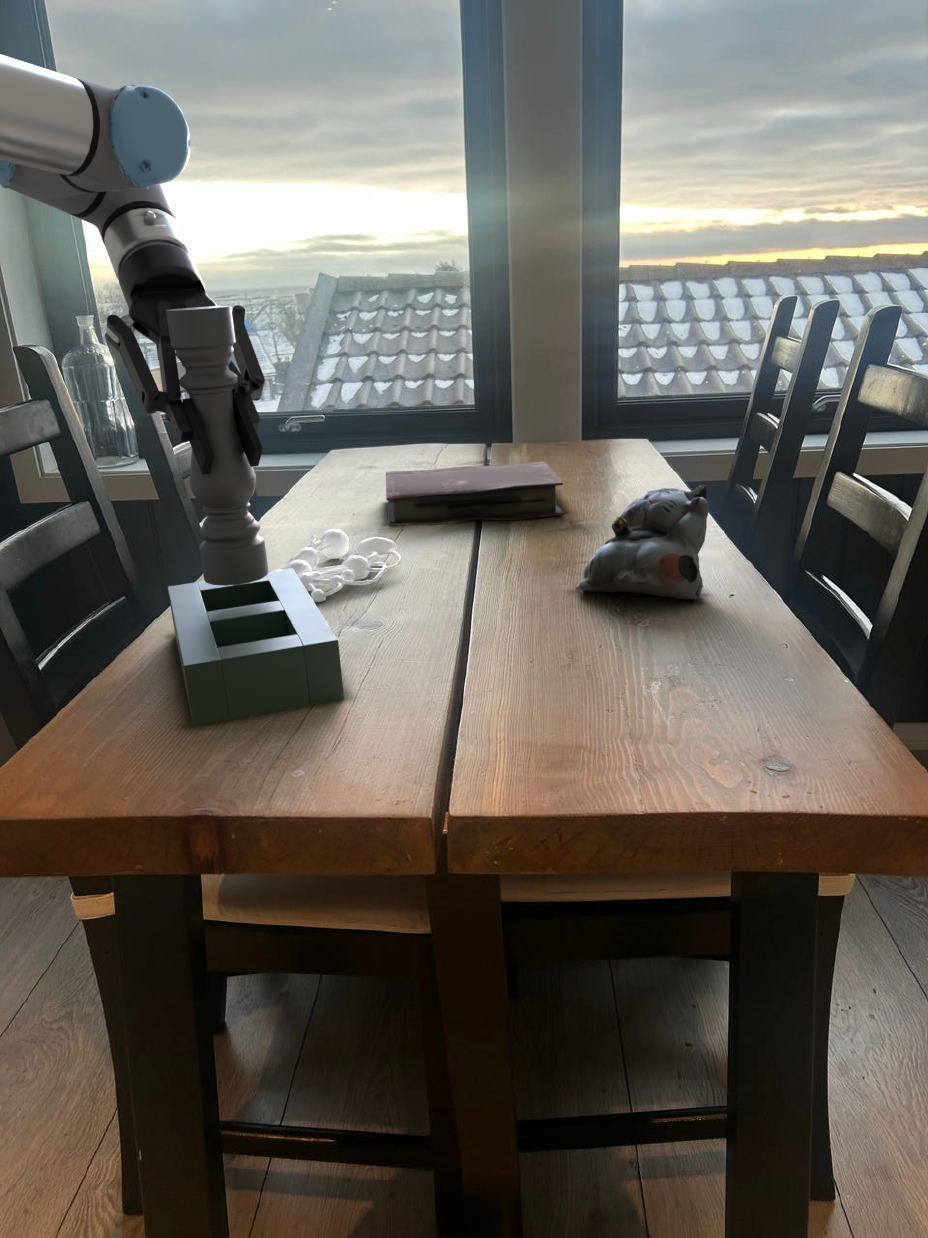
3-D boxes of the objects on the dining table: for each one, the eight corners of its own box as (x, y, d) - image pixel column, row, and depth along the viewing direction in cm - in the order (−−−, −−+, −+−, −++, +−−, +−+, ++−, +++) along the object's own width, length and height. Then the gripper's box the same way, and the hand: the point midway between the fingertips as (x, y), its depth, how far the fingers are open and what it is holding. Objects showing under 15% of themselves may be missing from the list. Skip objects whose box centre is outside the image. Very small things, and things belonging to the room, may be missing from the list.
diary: (388, 500, 158) (385, 468, 157) (544, 489, 160) (543, 457, 158) (388, 530, 141) (386, 495, 139) (564, 518, 142) (563, 483, 140)
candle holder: (278, 575, 97) (244, 305, 88) (217, 590, 93) (176, 311, 85) (253, 562, 102) (219, 305, 93) (194, 575, 98) (153, 310, 90)
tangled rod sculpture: (332, 627, 109) (330, 592, 107) (228, 602, 115) (224, 568, 113) (421, 570, 124) (420, 538, 123) (325, 550, 131) (323, 520, 129)
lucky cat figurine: (557, 589, 113) (586, 470, 114) (648, 615, 117) (674, 500, 118) (622, 588, 99) (654, 453, 100) (723, 618, 103) (752, 488, 104)
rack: (194, 731, 84) (183, 665, 82) (176, 640, 104) (167, 586, 102) (344, 703, 88) (338, 639, 85) (299, 621, 108) (292, 568, 106)
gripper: (65, 243, 91) (140, 449, 83) (243, 235, 99) (327, 423, 91) (65, 303, 97) (135, 500, 90) (233, 291, 105) (311, 471, 97)
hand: (232, 460), depth 90 cm, fingers closed on candle holder, 4 cm apart
